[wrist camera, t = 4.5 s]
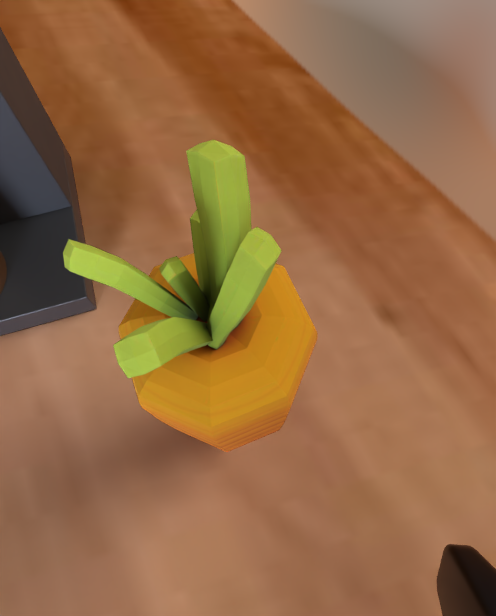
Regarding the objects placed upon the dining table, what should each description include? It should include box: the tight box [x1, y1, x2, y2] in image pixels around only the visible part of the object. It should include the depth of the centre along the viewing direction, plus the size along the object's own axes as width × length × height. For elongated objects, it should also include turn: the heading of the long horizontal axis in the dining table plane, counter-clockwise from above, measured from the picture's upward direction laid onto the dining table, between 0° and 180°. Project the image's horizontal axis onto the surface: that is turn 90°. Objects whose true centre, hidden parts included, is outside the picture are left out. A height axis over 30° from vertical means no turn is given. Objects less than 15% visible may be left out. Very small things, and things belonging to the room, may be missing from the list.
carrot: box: [63, 140, 317, 452], centre depth 13 cm, size 5×5×15 cm
